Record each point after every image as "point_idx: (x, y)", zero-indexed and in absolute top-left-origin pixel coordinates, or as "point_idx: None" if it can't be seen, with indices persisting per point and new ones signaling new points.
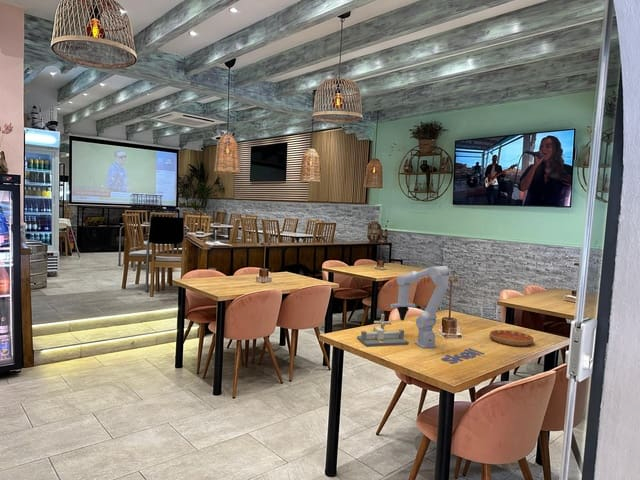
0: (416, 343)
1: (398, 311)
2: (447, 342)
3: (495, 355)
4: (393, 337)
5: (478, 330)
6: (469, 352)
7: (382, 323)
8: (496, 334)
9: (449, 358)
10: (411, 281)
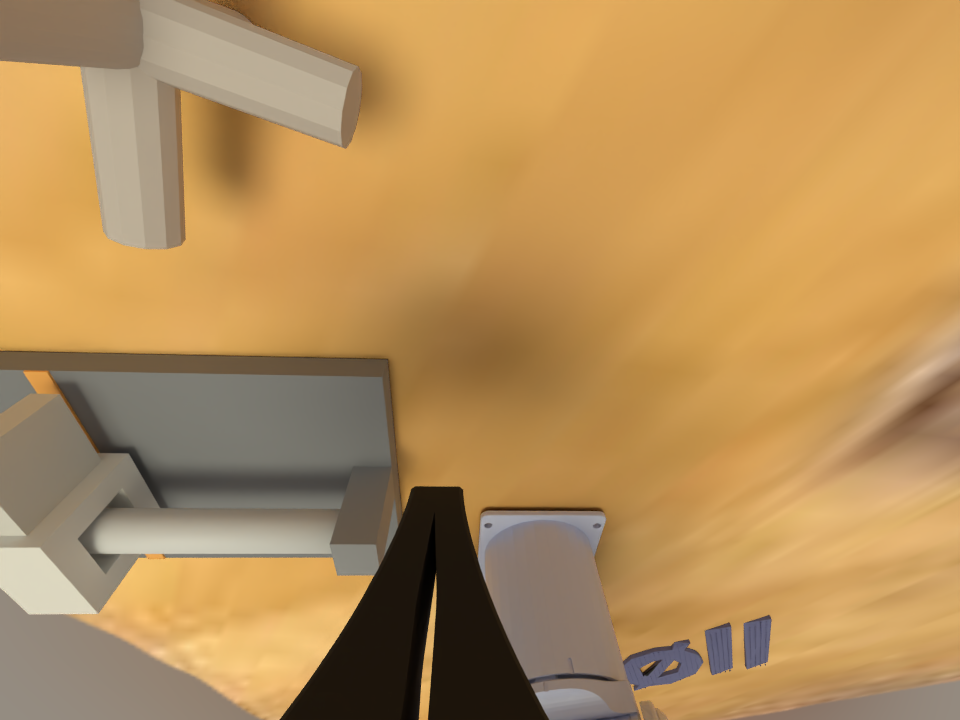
0: (479, 535)
1: (316, 677)
2: (756, 530)
3: (790, 675)
4: (298, 460)
5: None
6: (697, 655)
7: (102, 202)
8: None
9: None
10: None
